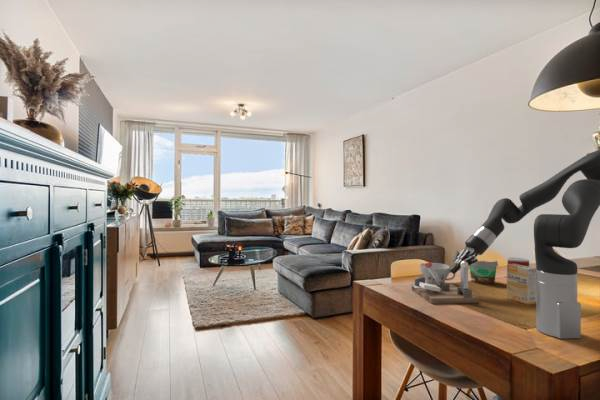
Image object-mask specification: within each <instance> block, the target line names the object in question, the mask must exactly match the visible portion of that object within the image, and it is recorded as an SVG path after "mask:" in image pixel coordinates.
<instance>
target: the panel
mask: <svg viewBox="0 0 600 400" xmlns="http://www.w3.org/2000/svg"><path fill="white" fill-rule="evenodd" d="M445 281H446V280H445ZM445 281H443V283H441V287H440V286H439V285H438V283H437V284H432V285H436V286H438V287H440V288H441V290H440V292H438V291H433V290H428V289H424V288H422V287H421V286H417V285H415V283H409V285H410V286H411V290H412V291H413V292H414V291H415V292H414V293H416V294H417V295H419V297H421V298H423V299H424V300H426V302H428V303H430V304H431V305H436V304H437V305H440V304H441V305H442V304H446V305H447V304H478V300H479V299H478V297H477V296H475V295H474V294H472V289H468V290H463V294H461V286H456V285H454V284H453V283H448V282H447V283H446V282H445Z"/></svg>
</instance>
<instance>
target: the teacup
mask: <svg viewBox="0 0 600 400" xmlns="http://www.w3.org/2000/svg"><path fill="white" fill-rule="evenodd" d="M425 263H426V262H425ZM425 263H423V262H422V263H420V264H419V269H420V272H421V277H425V282H426V283H427V284H437V282H436V280H435V279H434V277H433V276H432V275H431V273H430V272H429V270H428V269H427V268H426V267H425ZM430 263H431V264H432V266H433V268H434V269H435V271H436V272H437V274H438V275H439V277H440V278H441V280H442V281H452V280H453V279H455V277H456V273H455V274H453V273H451V272H450V271H449V269H450V268H451V267H450V265H448V264H445V263H441V262H440V263H439V262H430ZM449 274H453V276H452V277H449V278H448V276H449Z"/></svg>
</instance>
